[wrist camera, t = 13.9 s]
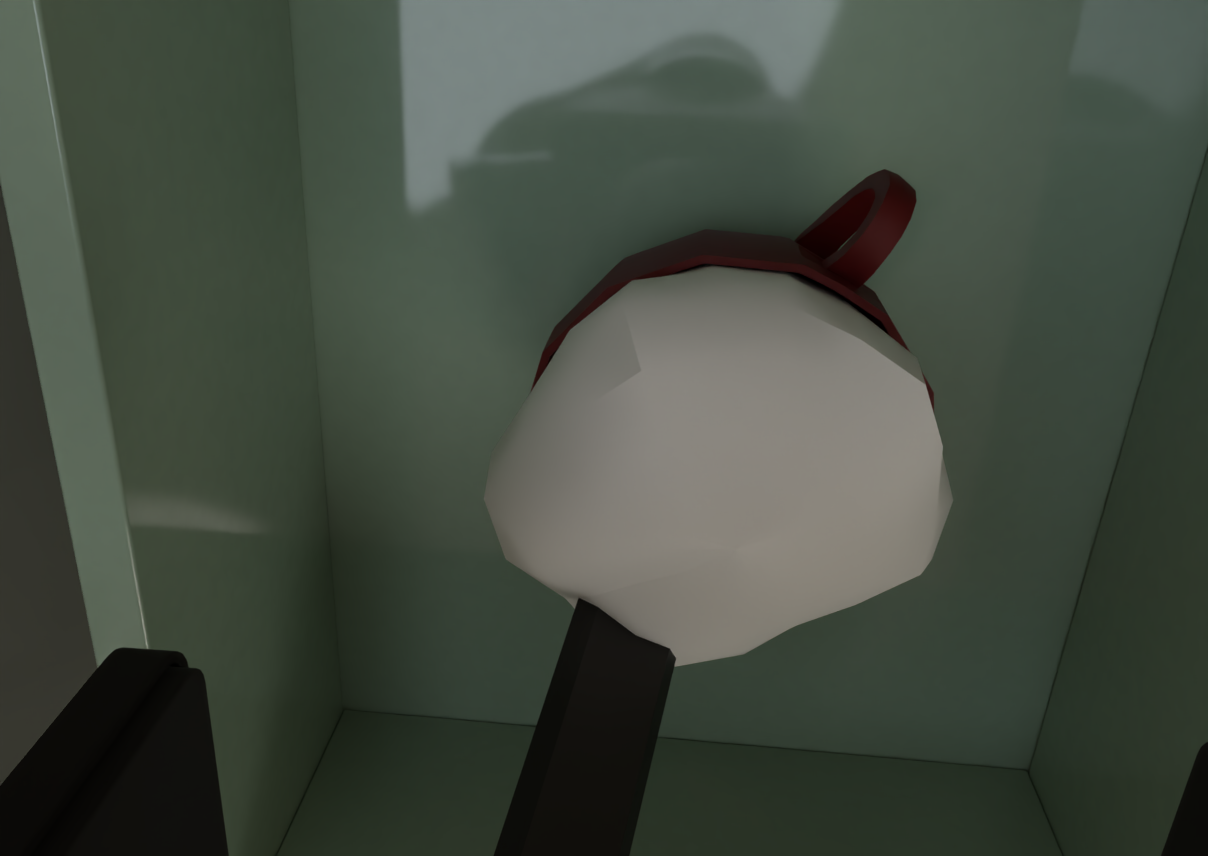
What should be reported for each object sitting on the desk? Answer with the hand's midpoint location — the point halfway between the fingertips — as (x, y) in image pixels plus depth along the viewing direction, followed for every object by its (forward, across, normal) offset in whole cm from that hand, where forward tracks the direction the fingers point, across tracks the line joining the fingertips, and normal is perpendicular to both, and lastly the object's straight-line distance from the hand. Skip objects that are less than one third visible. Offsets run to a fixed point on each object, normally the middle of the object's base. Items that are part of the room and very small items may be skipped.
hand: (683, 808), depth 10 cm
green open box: (+11, -1, -1) cm, 11 cm away
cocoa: (+10, 0, 0) cm, 10 cm away
